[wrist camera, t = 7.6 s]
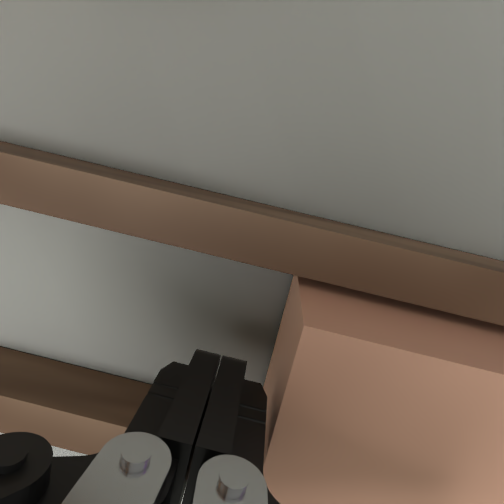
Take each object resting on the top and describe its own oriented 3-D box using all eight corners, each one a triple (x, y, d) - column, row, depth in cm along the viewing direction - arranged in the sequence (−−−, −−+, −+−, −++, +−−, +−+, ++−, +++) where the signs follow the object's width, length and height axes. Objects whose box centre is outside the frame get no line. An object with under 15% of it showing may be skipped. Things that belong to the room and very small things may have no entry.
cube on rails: (-162, 102, 13) (-414, 69, 9) (664, 299, 13) (896, 385, 8) (-151, 341, 16) (-342, 420, 11) (545, 517, 15) (669, 685, 10)
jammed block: (296, 265, 13) (304, 325, 8) (491, 312, 13) (614, 401, 8) (257, 407, 15) (245, 528, 10) (433, 452, 15) (507, 596, 10)
